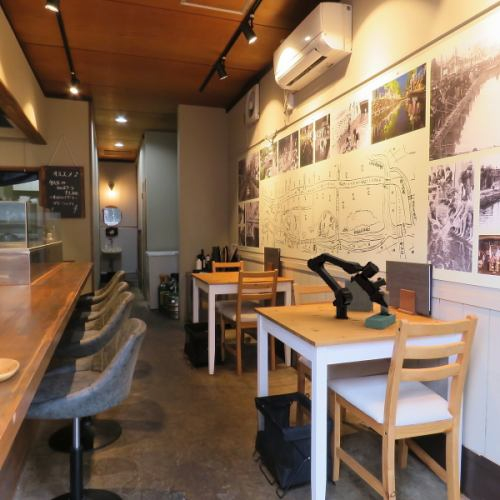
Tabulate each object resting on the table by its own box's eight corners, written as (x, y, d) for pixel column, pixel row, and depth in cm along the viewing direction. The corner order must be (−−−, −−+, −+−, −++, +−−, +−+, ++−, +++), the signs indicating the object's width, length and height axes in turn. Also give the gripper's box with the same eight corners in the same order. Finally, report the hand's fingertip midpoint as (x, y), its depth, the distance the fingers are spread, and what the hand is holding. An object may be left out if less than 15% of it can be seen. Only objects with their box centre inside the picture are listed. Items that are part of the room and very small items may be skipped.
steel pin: (379, 318, 206) (380, 290, 205) (387, 318, 206) (388, 290, 205) (381, 320, 202) (381, 292, 201) (389, 320, 202) (390, 292, 201)
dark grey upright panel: (344, 310, 234) (344, 275, 233) (344, 309, 238) (344, 275, 237) (373, 311, 230) (373, 276, 229) (372, 310, 234) (373, 275, 233)
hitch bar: (380, 319, 210) (380, 311, 210) (395, 321, 206) (395, 313, 205) (365, 327, 194) (365, 318, 194) (382, 329, 190) (382, 321, 189)
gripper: (377, 274, 195) (401, 298, 192) (376, 270, 213) (398, 292, 210) (360, 290, 198) (383, 314, 195) (360, 284, 215) (382, 306, 213)
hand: (387, 306), depth 203 cm, fingers closed on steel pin, 4 cm apart
